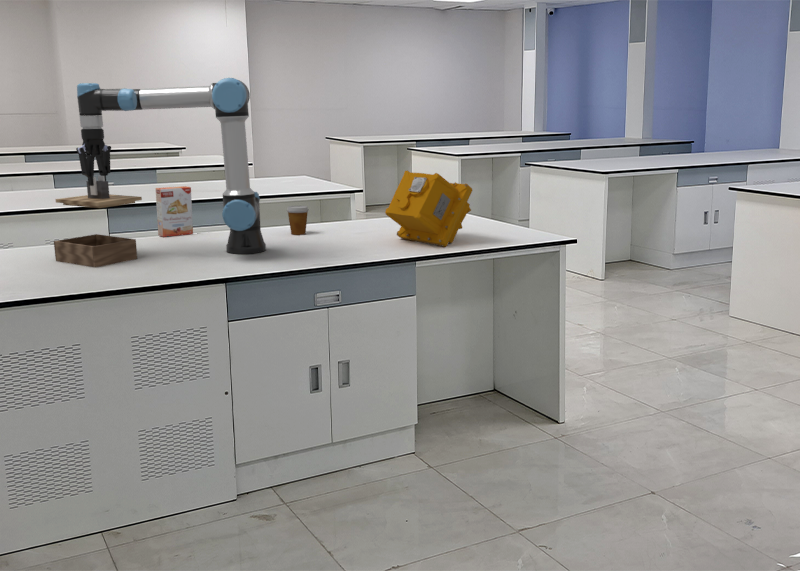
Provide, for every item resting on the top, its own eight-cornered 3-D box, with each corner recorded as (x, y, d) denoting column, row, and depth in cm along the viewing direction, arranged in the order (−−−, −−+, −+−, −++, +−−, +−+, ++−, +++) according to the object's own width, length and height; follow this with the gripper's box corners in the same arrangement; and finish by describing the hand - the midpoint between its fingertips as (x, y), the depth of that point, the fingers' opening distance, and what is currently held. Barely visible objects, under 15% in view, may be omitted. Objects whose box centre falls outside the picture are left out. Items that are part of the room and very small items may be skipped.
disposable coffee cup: (313, 233, 344) (312, 206, 341) (299, 236, 336) (299, 208, 333) (297, 231, 349) (296, 204, 346) (283, 234, 341) (282, 207, 338)
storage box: (137, 260, 284) (135, 239, 282) (95, 269, 269) (93, 246, 267) (98, 255, 295) (96, 234, 293) (55, 263, 280) (53, 241, 279)
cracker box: (163, 237, 334) (160, 188, 329) (158, 235, 338) (154, 187, 333) (194, 234, 342) (191, 186, 338) (188, 232, 347) (185, 185, 342)
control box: (458, 257, 316) (413, 222, 297) (413, 248, 336) (368, 215, 317) (485, 198, 321) (442, 160, 301) (439, 193, 341) (396, 157, 321)
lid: (142, 202, 284) (140, 180, 282) (98, 209, 268) (96, 185, 266) (100, 199, 295) (97, 177, 294) (56, 205, 280) (53, 182, 278)
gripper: (103, 127, 284) (109, 191, 290) (65, 128, 271) (72, 196, 276) (117, 127, 281) (123, 192, 286) (79, 128, 267) (86, 197, 272)
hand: (98, 194), depth 281 cm, fingers closed on lid, 3 cm apart
